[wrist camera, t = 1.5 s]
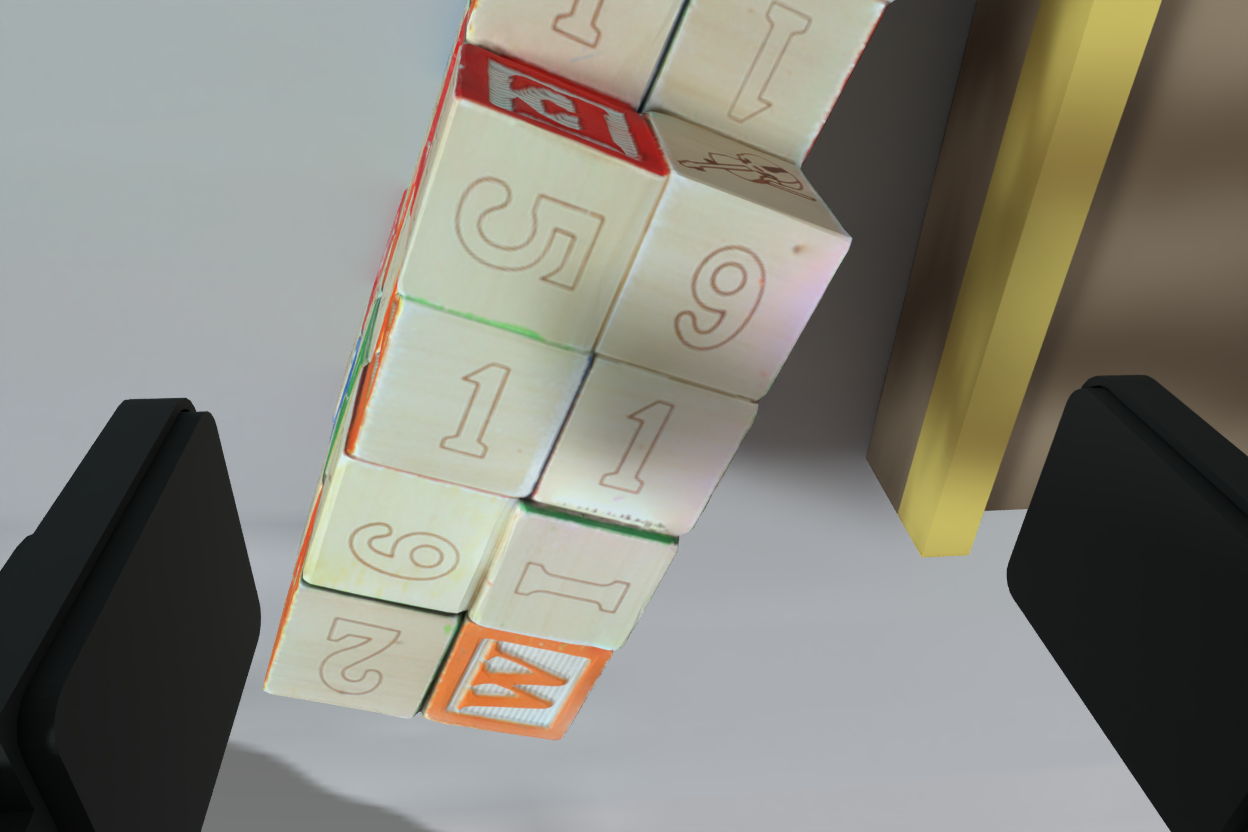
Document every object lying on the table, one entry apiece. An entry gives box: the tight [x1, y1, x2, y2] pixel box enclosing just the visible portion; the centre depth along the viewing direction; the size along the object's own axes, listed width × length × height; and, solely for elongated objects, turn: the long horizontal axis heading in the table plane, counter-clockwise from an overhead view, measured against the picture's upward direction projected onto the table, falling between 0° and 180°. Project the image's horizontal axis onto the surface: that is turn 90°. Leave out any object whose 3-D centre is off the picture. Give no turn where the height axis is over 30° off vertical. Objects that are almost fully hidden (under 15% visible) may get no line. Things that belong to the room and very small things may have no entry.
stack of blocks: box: [264, 0, 895, 740], centre depth 18 cm, size 21×6×12 cm, turn 157°
